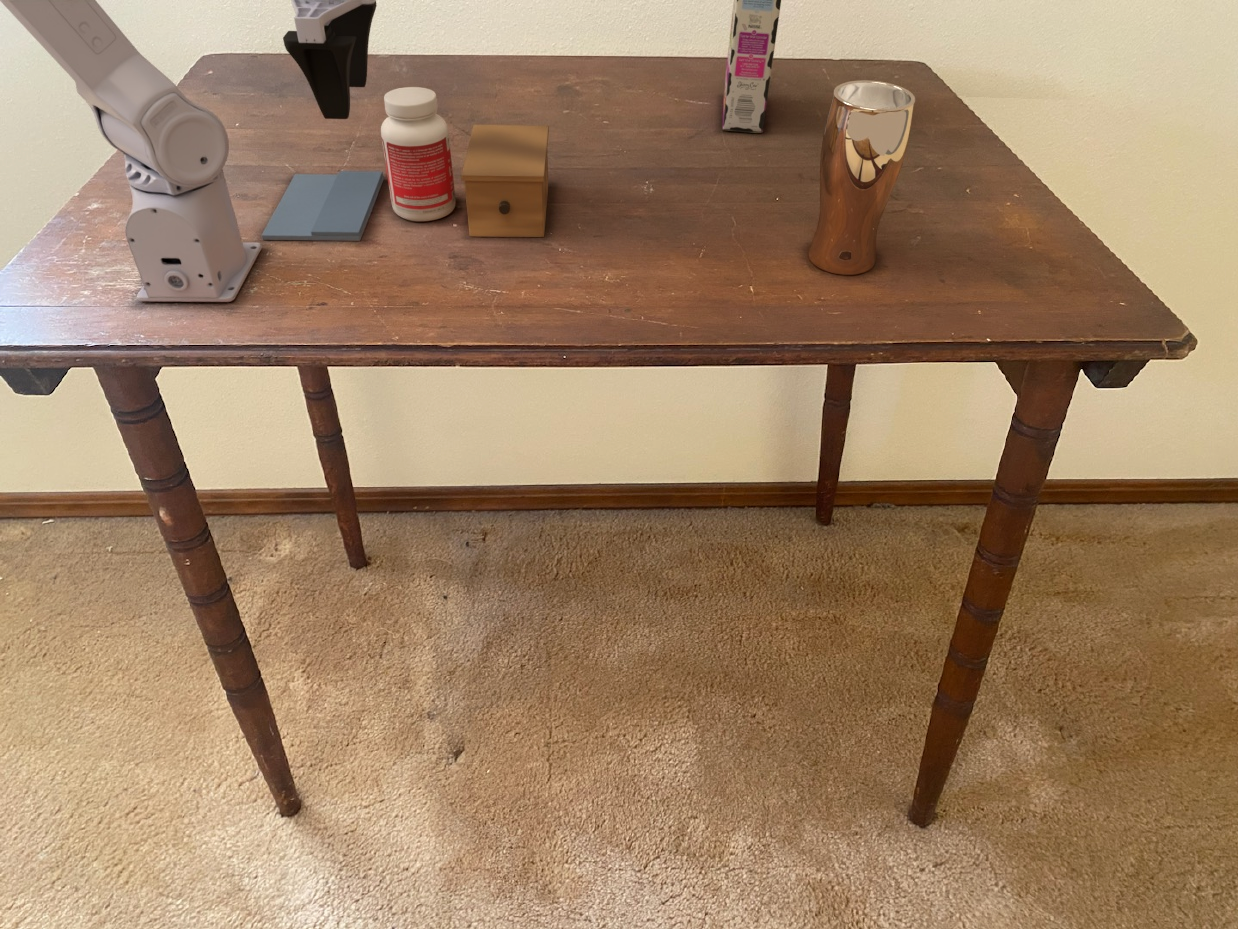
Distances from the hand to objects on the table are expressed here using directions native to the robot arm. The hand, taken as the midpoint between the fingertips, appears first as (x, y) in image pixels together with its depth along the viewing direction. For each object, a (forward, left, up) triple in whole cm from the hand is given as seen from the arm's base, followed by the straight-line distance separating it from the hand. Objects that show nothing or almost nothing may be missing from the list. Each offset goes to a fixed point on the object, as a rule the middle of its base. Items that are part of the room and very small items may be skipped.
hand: (345, 101), depth 85 cm
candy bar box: (+25, -40, -11) cm, 48 cm away
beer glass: (-9, -45, -11) cm, 48 cm away
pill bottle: (0, -6, -11) cm, 12 cm away
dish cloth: (0, +4, -10) cm, 11 cm away
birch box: (0, -14, -10) cm, 18 cm away
